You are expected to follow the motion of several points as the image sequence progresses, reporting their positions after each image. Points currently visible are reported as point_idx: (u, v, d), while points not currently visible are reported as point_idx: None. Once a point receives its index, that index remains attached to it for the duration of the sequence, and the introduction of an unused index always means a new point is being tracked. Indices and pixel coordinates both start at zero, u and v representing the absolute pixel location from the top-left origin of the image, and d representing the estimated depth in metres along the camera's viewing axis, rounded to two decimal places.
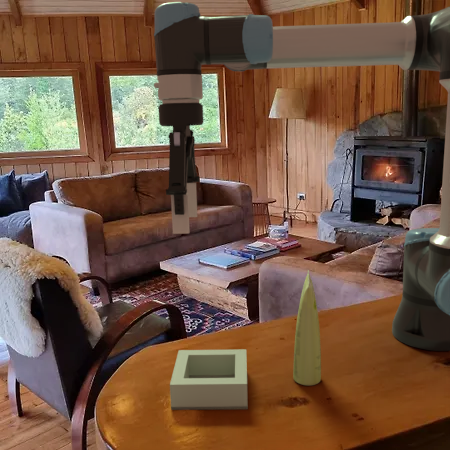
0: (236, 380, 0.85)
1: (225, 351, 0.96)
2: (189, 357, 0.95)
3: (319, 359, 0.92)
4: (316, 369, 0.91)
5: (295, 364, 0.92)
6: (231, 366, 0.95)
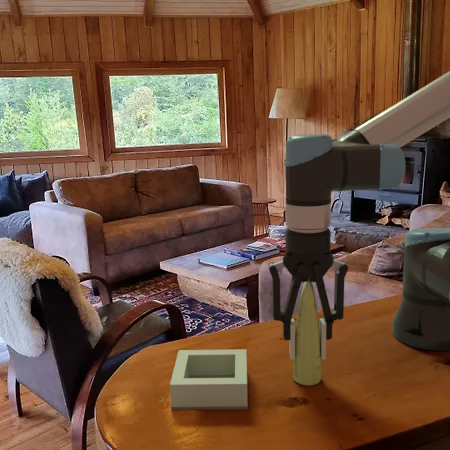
0: (236, 380, 0.85)
1: (225, 351, 0.96)
2: (189, 357, 0.95)
3: (319, 359, 0.92)
4: (316, 369, 0.91)
5: (295, 364, 0.92)
6: (231, 366, 0.95)
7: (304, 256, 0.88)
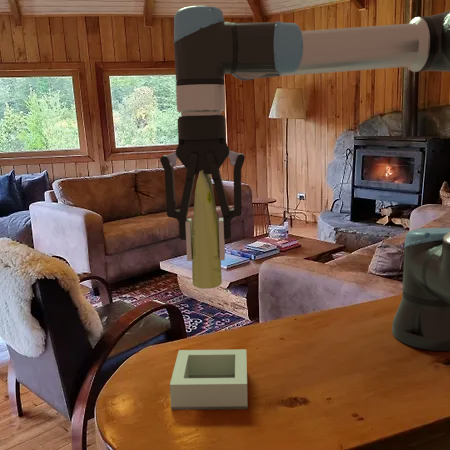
0: (236, 380, 0.85)
1: (225, 351, 0.96)
2: (189, 357, 0.95)
3: (217, 260, 0.85)
4: (214, 271, 0.85)
5: (192, 266, 0.86)
6: (231, 366, 0.95)
7: (197, 145, 0.81)
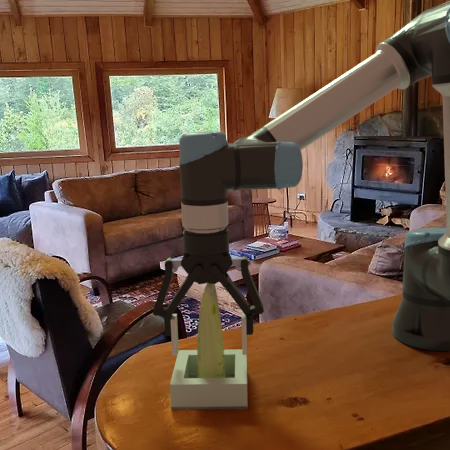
0: (236, 380, 0.85)
1: (225, 351, 0.96)
2: (189, 357, 0.95)
3: (221, 366, 0.89)
4: (218, 376, 0.89)
5: (198, 371, 0.90)
6: (231, 366, 0.95)
7: (203, 262, 0.85)
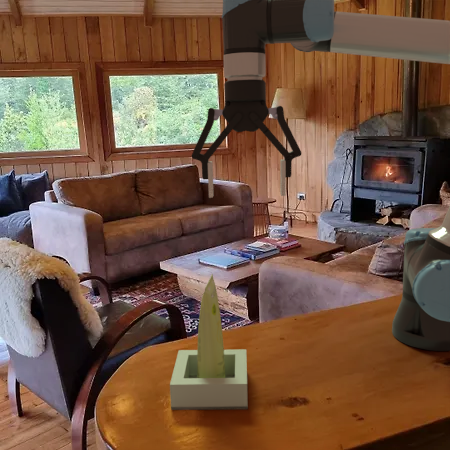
0: (236, 380, 0.85)
1: (225, 351, 0.96)
2: (189, 357, 0.95)
3: (222, 366, 0.89)
4: (218, 376, 0.89)
5: (198, 371, 0.90)
6: (231, 366, 0.95)
7: (242, 112, 0.95)
